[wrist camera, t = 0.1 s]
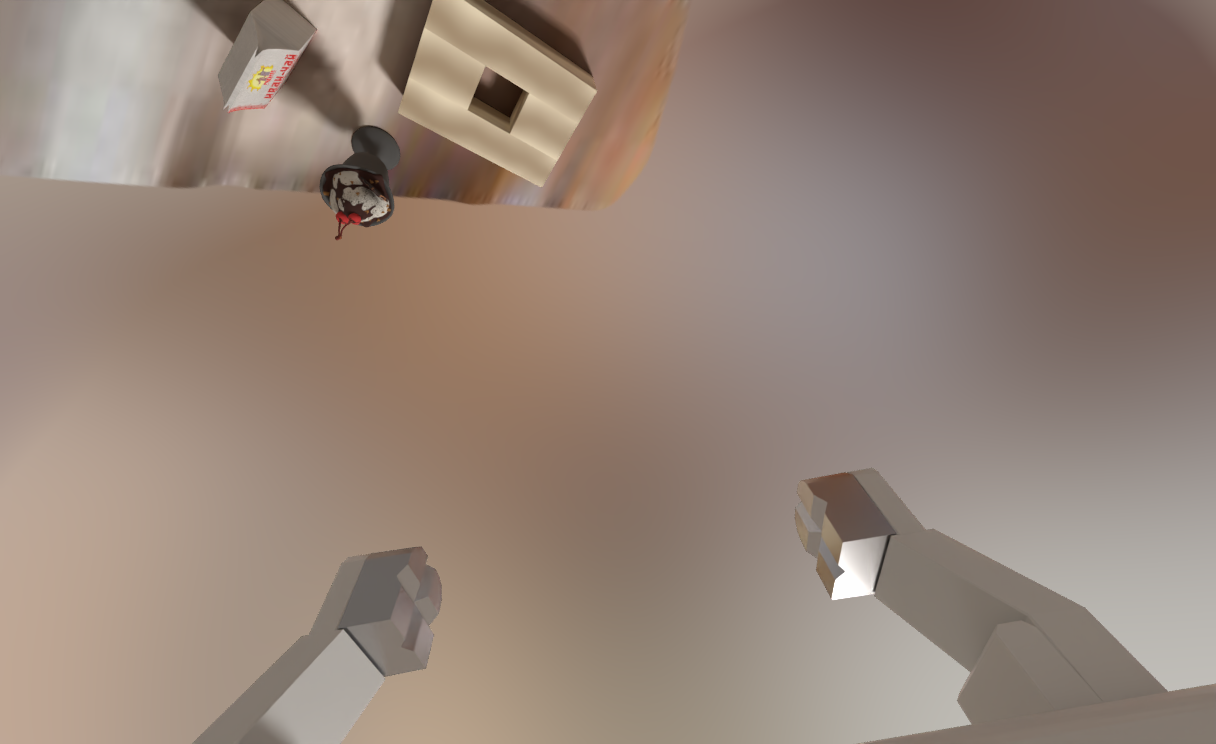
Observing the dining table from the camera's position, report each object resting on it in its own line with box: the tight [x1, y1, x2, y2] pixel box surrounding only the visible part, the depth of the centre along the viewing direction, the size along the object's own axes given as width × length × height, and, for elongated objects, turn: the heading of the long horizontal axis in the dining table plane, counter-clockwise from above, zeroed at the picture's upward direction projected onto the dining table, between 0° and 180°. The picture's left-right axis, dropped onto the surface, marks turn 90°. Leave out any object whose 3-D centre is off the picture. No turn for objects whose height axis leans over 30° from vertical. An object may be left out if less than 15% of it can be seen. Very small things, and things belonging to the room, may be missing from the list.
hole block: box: [398, 0, 597, 188], centre depth 48 cm, size 12×16×4 cm
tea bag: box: [218, 0, 317, 113], centre depth 41 cm, size 4×7×10 cm, turn 130°
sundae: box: [320, 127, 400, 240], centre depth 48 cm, size 7×7×15 cm
